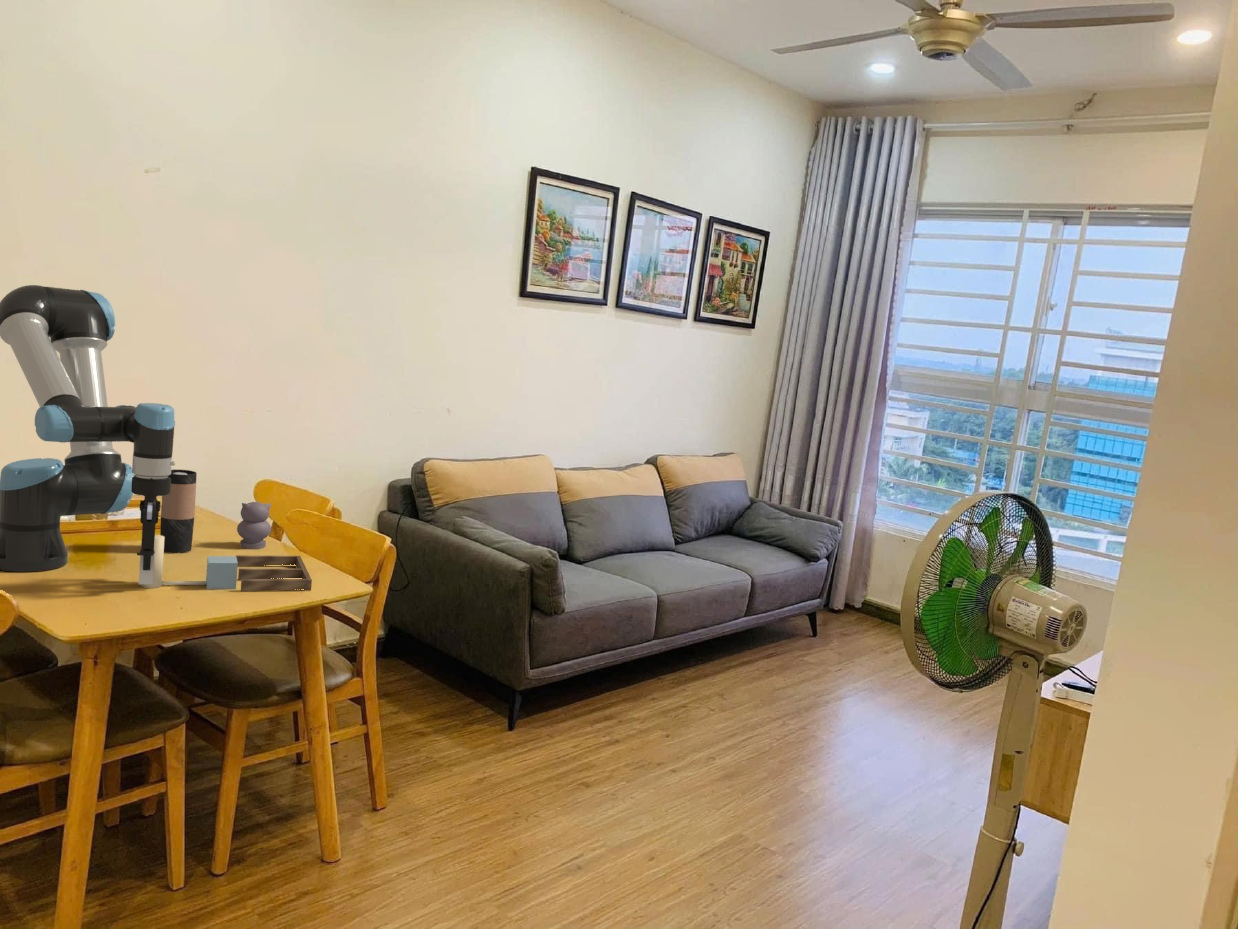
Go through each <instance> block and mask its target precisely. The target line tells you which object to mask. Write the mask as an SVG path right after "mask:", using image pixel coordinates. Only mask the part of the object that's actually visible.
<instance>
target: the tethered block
mask: <svg viewBox="0 0 1238 929" xmlns="http://www.w3.org/2000/svg"><path fill="white" fill-rule="evenodd" d="M164 538H165V537H164V536H161V535H160V534H155V540H154V551H155V553H154V571H153V584H140V585H141V588H144V589H158V588H161V587H162V586H174V585H175V586H184V585H185V586H186V585H187V586H192V585H193V586H200V585H201V586H202V585H205V586H206V587H205V588H206V590H237V580H238V567H239V566H238V562H237V558H236V555H235V556H234V555H232V556H230V555H229V556H226V555H219V556H217V555H216V556H214V555H212V556H211V555H207V562H206V573H205V574H206V575H205V576H206V577H205V580H184V581H183V580H173V581H172V580H170V581H169V580H168V581H167V580H164V581H163V568H164V553H165V552H164Z"/></svg>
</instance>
